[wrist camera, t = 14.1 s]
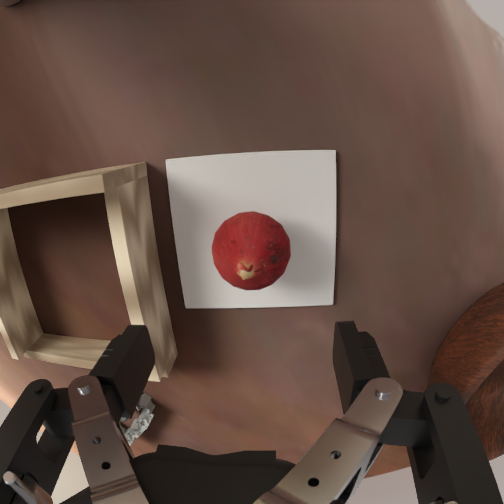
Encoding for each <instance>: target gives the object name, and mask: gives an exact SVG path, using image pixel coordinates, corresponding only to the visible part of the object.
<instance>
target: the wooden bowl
mask: <svg viewBox="0 0 504 504" xmlns="http://www.w3.org/2000/svg"><path fill="white" fill-rule="evenodd" d="M434 383H447V384H450V385H452V386H454V387H455V388H456V389H457V390H458V391H459V393H460V395H461V397H462V399H463V401H464V404H465V406H466V408H467V410H468V412H469V415H470V417H471V419H472V421H473V424H474V426H475V428H476V431H477V433H478V436H479V438H480V440H481V443H482V445H483V448H484V450H485V453H486V455H487V458H488V461H489V460H492V459H494V458H497V457H499V456H501V455H503V454H504V283H503V284H501V285H499V286H497V287H495V288H494V289H492V290H490V291H489V292H487V293H486V294H485V295H483V296H482V297H481V298H480V299H478V300H477V301H476V302H475V303H474V304H473V305H472V306H471V307H470V308H469V309H468V310H467V311H466V312H465V313H464V314H463V315H462V316H461V317H460V318H459V320H458V321H457V322H456V323H455V325H454V326H453V327H452V329H451V330H450V331H449V333H448V334H447V336H446V337H445V339H444V341H443V342H442V344H441V346H440V348H439V350H438V352H437V354H436V356H435V359H434V362H433V364H432V368H431V372H430V376H429V381H428V387H429V386H430V385H432V384H434Z"/></svg>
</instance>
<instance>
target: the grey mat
mask: <svg viewBox="0 0 504 504" xmlns="http://www.w3.org/2000/svg"><path fill="white" fill-rule="evenodd" d="M166 170H167V179H168V189H169V197H170V206H171V214H172V222H173V230H174V237H175V244H176V251H177V258H178V265H179V272H180V278H181V284H182V290H183V296H184V302H185V308H260V307H293V306H317V305H333V296H334V276H335V250H336V150H292V151H265V152H246V153H230V154H217V155H205V156H194V157H184V158H174V159H167V160H166ZM251 211H255V212H258V213H262V214H266V215H269V216H270V217H272V218H273V219H275V220H276V221H277V222H279V223H280V224H281V225H282V226H283V228H284V230H285V232H286V233H287V235H288V237H289V239H290V249H291V257H290V260H289V263H288V265H287V267H286V270H285V272H284V274H283V275H282V276H281V277H280V278H279V279H278V280H277V281H276V282H274V283H273V284H272V285H270V286H268V287H265V288H263V289H261V290H243V289H240V288H237V287H233V286H232V285H231V284H229V283H228V282H227V281H225V280H224V279H223V278H222V277H221V275H220V274H219V272H218V270H217V269H216V267H215V265H214V261H213V256H212V243H213V239H214V235H215V232H216V231H217V230H218V228H219V227H220V226H221V224H222V223H223V222H224V221H225V220H227V219H229V218H230V217H232V216H234V215H236V214H238V213H241V212H251Z"/></svg>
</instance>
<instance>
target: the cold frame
mask: <svg viewBox="0 0 504 504" xmlns="http://www.w3.org/2000/svg"><path fill="white" fill-rule="evenodd" d="M103 192H104V196H105V202H106V209H107V215H108V221H109V227H110V232H111V238H112V243H113V248H114V253H115V258H116V263H117V268H118V272H119V277H120V281H121V285H122V290H123V294H124V298H125V302H126V306H127V310H128V314H129V318H130V321H131V325H146V326H147V328H148V331H149V335H150V338H151V342H152V345H153V349H154V352H155V365H154V368H153V370H152V372H151V374H150V377H149V379H148V381H158V382H160V381H161V378H162V377H169V374H170V372H171V369H172V367H173V364H174V362H175V359H176V357H177V354H178V352H177V348H176V343H175V339H174V334H173V329H172V325H171V320H170V315H169V310H168V305H167V300H166V295H165V290H164V284H163V279H162V273H161V267H160V262H159V255H158V249H157V243H156V237H155V230H154V223H153V216H152V208H151V201H150V193H149V185H148V176H147V167H146V162H141V163H134V164H127V165H120V166H114V167H107V168H101V169H95V170H89V171H83V172H78V173H73V174H67V175H62V176H57V177H52V178H47V179H43V180H38V181H33V182H29V183H25V184H20V185H16V186H12V187H8V188H4V189H0V331H1V334H2V336H3V338H4V340H5V343H6V345H7V347H8V349H9V351H10V354H11V356H12V358H14V359H18V360H19V359H20V358H21V357H22V356H23V355H24V356H25V357H27V358H32V359H37V360H42V361H47V362H52V363H57V364H63V365H69V366H75V367H81V368H88V369H93V367H94V366H95V364H96V363H97V361H98V360H99V358H100V357H101V356H102V353H103V352H104V350H106V347H107V346H108V344H109V343H110V340H98V339H88V338H78V337H69V336H61V335H53V334H45V333H43V331H42V328H41V326H40V323H39V320H38V318H37V315H36V312H35V309H34V306H33V304H32V301H31V298H30V295H29V291H28V288H27V285H26V282H25V279H24V275H23V272H22V268H21V265H20V261H19V257H18V254H17V250H16V246H15V241H14V237H13V233H12V228H11V224H10V219H9V214H8V209H7V208H8V207H13V206H19V205H24V204H30V203H36V202H42V201H48V200H54V199H60V198H67V197H74V196H80V195H88V194H95V193H103Z"/></svg>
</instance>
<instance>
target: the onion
mask: <svg viewBox="0 0 504 504" xmlns="http://www.w3.org/2000/svg"><path fill="white" fill-rule="evenodd" d="M212 256H213V261H214V265H215V267H216V269H217V270H218V272H219V274H220V275H221V277H222V278H223V279H224V280H225V281H227V282H228V283H229V284H231V285H232V286H233V287H237V288H240V289H243V290H261V289H263V288H265V287H268V286H270V285H272V284H273V283H274V282H276V281H277V280H278V279H279V278H280V277H281V276H282V275H283V274H284V272H285V270H286V267H287V265H288V263H289V260H290V257H291V249H290V239H289V237H288V235H287V233H286V232H285V230H284V228H283V226H282V225H281V224H280V223H279V222H277V221H276V220H275V219H273V218H272V217H270V216H269V215H266V214H262V213H258V212H255V211H251V212H241V213H238V214H236V215H234V216H232V217H230V218H229V219H227V220H225V221H224V222H223V223H222V224H221V226H220V227H219V228H218V230H217V231H216V232H215V235H214V239H213V243H212Z"/></svg>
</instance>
